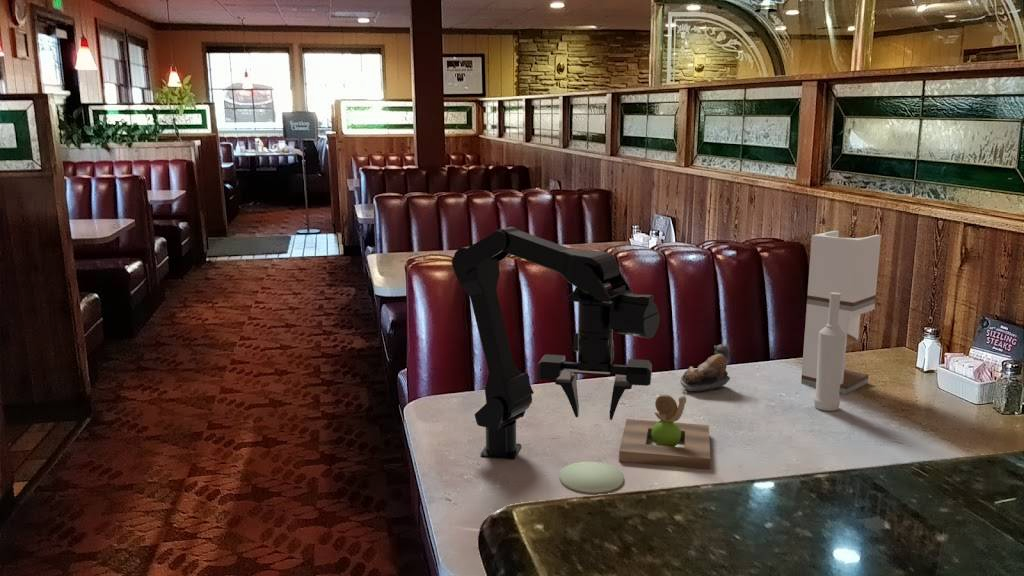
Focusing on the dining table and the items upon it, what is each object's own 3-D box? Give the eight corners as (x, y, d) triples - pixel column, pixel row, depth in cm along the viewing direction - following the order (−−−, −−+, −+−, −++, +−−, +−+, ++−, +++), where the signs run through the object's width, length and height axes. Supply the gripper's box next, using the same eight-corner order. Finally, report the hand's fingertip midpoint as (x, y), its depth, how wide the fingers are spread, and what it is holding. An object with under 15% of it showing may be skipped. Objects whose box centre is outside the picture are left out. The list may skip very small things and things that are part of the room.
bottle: (835, 403, 170) (844, 290, 165) (842, 411, 165) (852, 296, 160) (810, 402, 171) (819, 290, 166) (817, 410, 166) (826, 295, 160)
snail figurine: (676, 457, 143) (679, 395, 141) (645, 448, 147) (648, 388, 144) (690, 447, 147) (693, 387, 145) (659, 439, 151) (662, 380, 149)
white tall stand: (845, 394, 176) (858, 240, 168) (801, 383, 183) (811, 235, 176) (867, 383, 183) (881, 234, 176) (824, 372, 191) (835, 230, 184)
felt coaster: (620, 495, 128) (620, 492, 128) (554, 489, 131) (554, 486, 131) (626, 467, 139) (626, 464, 139) (564, 462, 141) (564, 459, 141)
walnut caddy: (709, 469, 138) (710, 458, 138) (618, 461, 142) (619, 450, 141) (708, 434, 153) (708, 425, 153) (626, 428, 157) (626, 418, 156)
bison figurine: (691, 397, 175) (692, 353, 173) (673, 387, 181) (674, 345, 179) (735, 390, 179) (737, 347, 177) (716, 381, 185) (718, 340, 183)
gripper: (654, 319, 135) (651, 405, 139) (548, 315, 139) (547, 398, 143) (651, 336, 125) (648, 428, 128) (536, 331, 129) (536, 420, 132)
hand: (594, 417), depth 133 cm, fingers open, 5 cm apart
